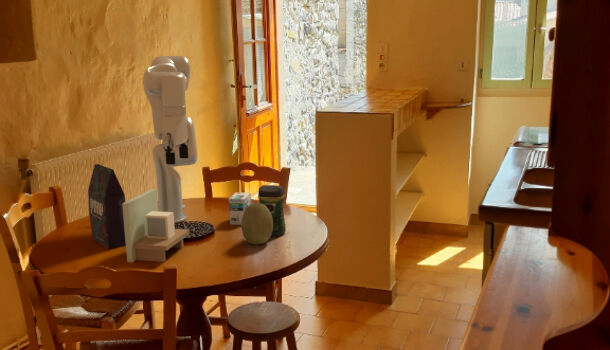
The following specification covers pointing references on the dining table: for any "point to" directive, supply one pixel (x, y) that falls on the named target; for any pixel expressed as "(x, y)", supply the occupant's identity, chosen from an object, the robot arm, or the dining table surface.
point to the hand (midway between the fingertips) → (177, 161)
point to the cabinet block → (160, 225)
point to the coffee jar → (274, 206)
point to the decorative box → (106, 207)
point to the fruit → (257, 223)
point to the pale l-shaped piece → (136, 230)
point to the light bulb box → (238, 206)
